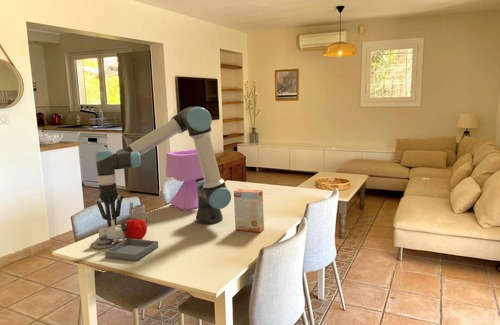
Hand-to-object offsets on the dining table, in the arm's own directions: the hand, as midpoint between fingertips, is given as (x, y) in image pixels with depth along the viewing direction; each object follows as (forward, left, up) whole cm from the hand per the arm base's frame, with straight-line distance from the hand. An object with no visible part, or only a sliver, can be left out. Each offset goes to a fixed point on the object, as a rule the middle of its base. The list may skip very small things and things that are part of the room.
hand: (113, 232), depth 177 cm
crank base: (+7, -2, -7) cm, 10 cm away
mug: (+12, -35, -7) cm, 38 cm away
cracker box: (-55, -37, -7) cm, 67 cm away
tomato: (-4, -11, -7) cm, 14 cm away
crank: (+2, -3, -4) cm, 5 cm away
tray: (-13, +4, -7) cm, 15 cm away
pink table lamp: (-1, -76, -7) cm, 76 cm away
